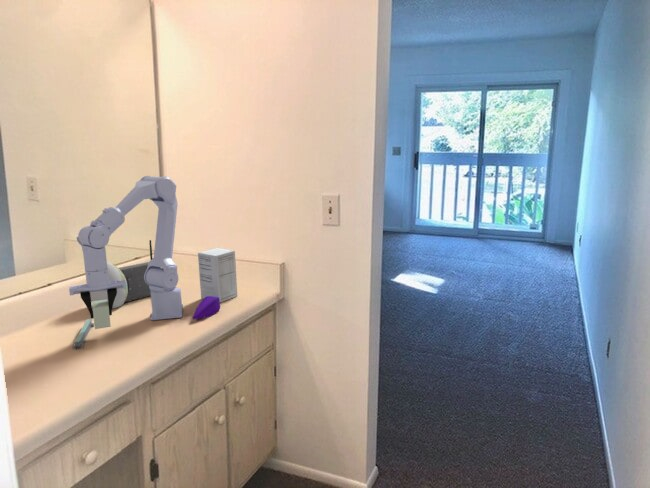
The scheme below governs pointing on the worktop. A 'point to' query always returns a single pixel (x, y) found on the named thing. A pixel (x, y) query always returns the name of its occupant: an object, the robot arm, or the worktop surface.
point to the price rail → (83, 334)
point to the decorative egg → (120, 298)
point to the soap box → (101, 314)
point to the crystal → (207, 307)
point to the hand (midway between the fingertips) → (101, 315)
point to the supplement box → (218, 273)
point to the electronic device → (136, 280)
